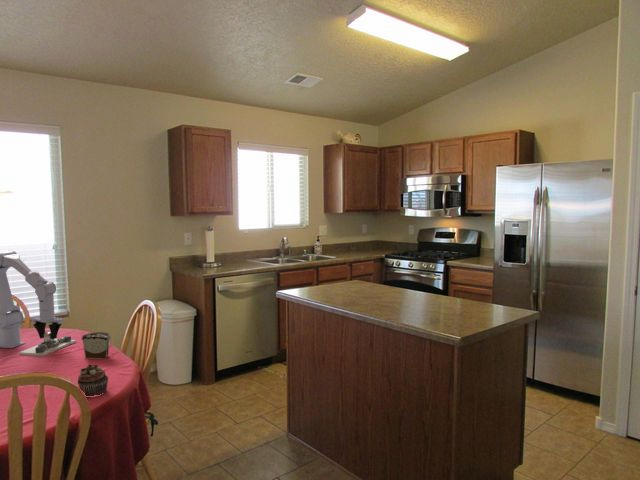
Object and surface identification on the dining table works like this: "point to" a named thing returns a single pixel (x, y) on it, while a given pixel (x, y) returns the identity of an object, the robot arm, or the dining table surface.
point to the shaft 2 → (64, 339)
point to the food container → (96, 345)
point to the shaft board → (50, 348)
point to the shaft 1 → (41, 348)
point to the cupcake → (92, 380)
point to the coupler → (48, 338)
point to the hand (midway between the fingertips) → (48, 338)
